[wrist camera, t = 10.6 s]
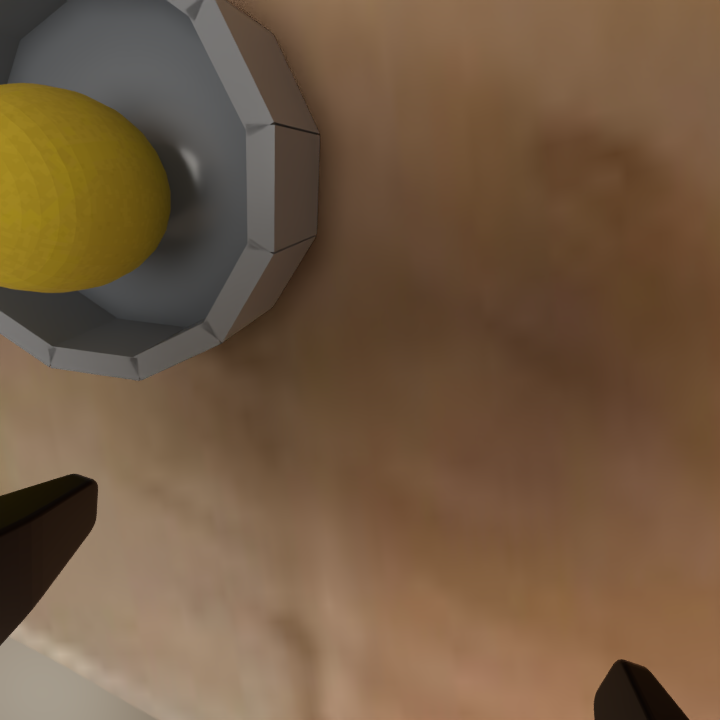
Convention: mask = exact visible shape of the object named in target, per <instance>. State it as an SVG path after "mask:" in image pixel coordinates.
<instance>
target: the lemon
mask: <svg viewBox="0 0 720 720" xmlns="http://www.w3.org/2000/svg"><path fill="white" fill-rule="evenodd" d="M170 211H171V192H170V187H169V183H168V178H167V174H166V171H165V169H164V167H163V165H162V163H161V160H160V158H159V156H158V154H157V152H156V150H155V149H154V148H153V146H152V145H151V144H150V142H149V141H148V140H147V138H146V137H145V136H144V134H143V133H142V132H141V131H140V130H139V129H138V128H137V127H135V126H134V125H133V124H132V123H131V122H130V121H128V120H127V119H126V118H125V117H124V116H123V115H122V114H120V113H119V112H117V111H116V110H114V109H112V108H110V107H108V106H106V105H104V104H102V103H100V102H98V101H96V100H94V99H92V98H90V97H88V96H86V95H84V94H81V93H78V92H75V91H71V90H67V89H62V88H57V87H52V86H47V85H41V84H33V83H12V84H3V85H0V286H1V287H5V288H9V289H15V290H24V291H33V292H42V293H64V292H72V291H78V290H84V289H89V288H94V287H99V286H103V285H105V284H108V283H111V282H113V281H115V280H117V279H119V278H120V277H122V276H124V275H126V274H128V273H130V272H132V271H133V270H135V269H136V268H138V267H139V266H140V265H141V264H142V263H143V262H144V261H145V260H146V259H147V258H148V257H149V256H150V255H151V254H152V253H153V252H154V251H155V250H156V248H157V247H158V245H159V243H160V241H161V239H162V237H163V236H164V234H165V232H166V229H167V225H168V220H169V216H170Z"/></svg>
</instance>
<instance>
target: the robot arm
mask: <svg viewBox="0 0 720 720" xmlns="http://www.w3.org/2000/svg"><path fill="white" fill-rule="evenodd" d="M97 498H98V485H97V482H96V481H95V480H93V479H90V478H87V477H84V476H81V475H78V474H70V475H66V476H63V477H60V478H57V479H54V480H50V481H47V482H44V483H41V484H37V485H34V486H31V487H28V488H24V489H21V490H18V491H15V492H12V493H8V494H5V495H2V496H0V645H1V644H2V643H3V642H4V641H5V640H6V639H7V638H8V637H9V635H10V634H11V633H12V632H13V631H14V630H15V629H16V628H17V627H18V625H19V624H20V623H21V622H22V621H23V620H24V619H25V617H26V616H27V615H28V614H29V613H30V612H31V610H32V609H33V608H34V607H35V605H36V604H37V603H38V602H39V600H40V599H41V598H42V596H43V595H44V594H45V592H46V591H47V590H48V588H49V587H50V586H51V584H52V583H53V582H54V580H55V579H56V578H57V576H58V575H59V574H60V572H61V571H62V570H63V568H64V567H65V565H66V564H67V563H68V561H69V560H70V559H71V557H72V556H73V555H74V553H75V552H76V551H77V549H78V548H79V547H80V545H81V544H82V543H83V541H84V540H85V538H86V537H87V536H88V534H89V533H90V532H91V530H92V528H93V526H94V524H95V521H96V516H97ZM594 718H595V720H689V719H688V717H687V716H686V715H685V714H684V712H683V711H682V710H681V709H680V708H679V706H678V705H677V704H676V703H675V701H674V700H673V699H672V698H671V696H670V695H669V694H668V693H667V691H666V690H665V689H664V688H663V687H662V685H661V684H660V683H659V682H658V680H657V679H656V678H655V677H654V675H653V674H652V673H651V672H650V671H649V670H648V669H647V668H645V667H643V666H641V665H638V664H635V663H632V662H629V661H626V660H622V659H620V660H617V661H616V662H615V663H614V664H613V666H612V667H611V669H610V671H609V672H608V674H607V675H606V677H605V679H604V680H603V682H602V683H601V685H600V687H599V688H598V690H597V692H596V695H595V699H594Z"/></svg>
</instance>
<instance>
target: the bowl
mask: <svg viewBox="0 0 720 720" xmlns="http://www.w3.org/2000/svg"><path fill="white" fill-rule="evenodd" d="M12 83H33V84H41V85H47V86H52V87H57V88H62V89H67V90H71V91H75V92H78V93H81V94H84V95H86V96H88V97H90V98H92V99H94V100H96V101H98V102H100V103H102V104H104V105H106V106H108V107H110V108H112V109H114V110H116V111H117V112H119V113H120V114H122V115H123V116H124V117H125V118H126V119H127V120H128V121H130V122H131V123H132V124H133V125H134V126H135V127H137V128H138V129H139V130H140V131H141V132H142V133H143V134H144V136H145V137H146V138H147V140H148V141H149V142H150V144H151V145H152V146H153V148H154V149H155V150H156V152H157V154H158V156H159V158H160V160H161V163H162V165H163V167H164V169H165V171H166V174H167V178H168V183H169V187H170V192H171V211H170V216H169V220H168V225H167V229H166V232H165V234H164V236H163V237H162V239H161V241H160V243H159V245H158V247H157V248H156V250H155V251H154V252H153V253H152V254H151V255H150V256H149V257H148V258H147V259H146V260H145V261H144V262H143V263H142V264H141V265H140V266H139V267H138V268H136V269H135V270H133V271H132V272H130V273H128V274H126V275H124V276H122V277H120V278H119V279H117V280H115V281H113V282H111V283H108V284H105V285H103V286H99V287H94V288H89V289H84V290H78V291H72V292H64V293H42V292H33V291H24V290H15V289H9V288H5V287H1V286H0V334H2V335H3V336H4V337H6V338H7V339H9V340H10V341H12V342H13V343H15V344H16V345H18V346H19V347H21V348H22V349H23V350H25V351H26V352H28V353H29V354H31V355H32V356H34V357H35V358H37V359H38V360H40V361H41V362H43V363H44V364H45V365H47V366H48V367H50V366H51V368H56V369H63V370H70V371H76V372H83V373H90V374H97V375H104V376H111V377H118V378H124V379H131V380H138V381H140V380H143V379H146V378H148V377H150V376H152V375H154V374H156V373H159V372H161V371H163V370H165V369H167V368H169V367H172V366H174V365H176V364H178V363H180V362H182V361H185V360H187V359H189V358H191V357H193V356H195V355H198V354H200V353H202V352H204V351H206V350H208V349H211V348H213V347H215V346H217V345H219V344H221V343H223V342H224V341H226V340H227V339H228V338H230V337H231V336H233V335H234V334H236V333H237V332H238V331H240V330H241V329H243V328H244V327H245V326H247V325H248V324H250V323H251V322H253V321H254V320H255V319H257V318H258V317H260V316H261V315H263V314H264V313H265V312H267V311H268V310H270V309H271V308H272V307H273V306H274V304H275V303H276V301H277V300H278V298H279V296H280V295H281V293H282V291H283V290H284V288H285V286H286V285H287V283H288V282H289V280H290V278H291V277H292V275H293V273H294V272H295V270H296V268H297V267H298V265H299V264H300V262H301V260H302V259H303V257H304V255H305V254H306V252H307V250H308V249H309V247H310V246H311V244H312V242H313V241H314V239H315V237H316V234H317V215H318V184H319V154H320V135H318V134H319V131H318V129H317V127H316V124H315V122H314V120H313V118H312V116H311V114H310V112H309V109H308V107H307V105H306V103H305V101H304V99H303V97H302V94H301V92H300V90H299V88H298V86H297V84H296V82H295V79H294V77H293V75H292V73H291V71H290V69H289V67H288V64H287V62H286V60H285V58H284V56H283V54H282V52H281V49H280V47H279V45H278V43H277V41H276V39H275V37H274V35H273V34H272V33H271V32H270V31H269V30H267V29H266V28H265V27H263V26H262V25H260V24H259V23H258V22H256V21H255V20H254V19H252V18H251V17H249V16H248V15H247V14H245V13H244V12H243V11H241V10H240V9H239V8H237V7H236V6H234V5H233V4H232V3H230V2H229V1H228V0H0V85H3V84H12Z"/></svg>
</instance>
